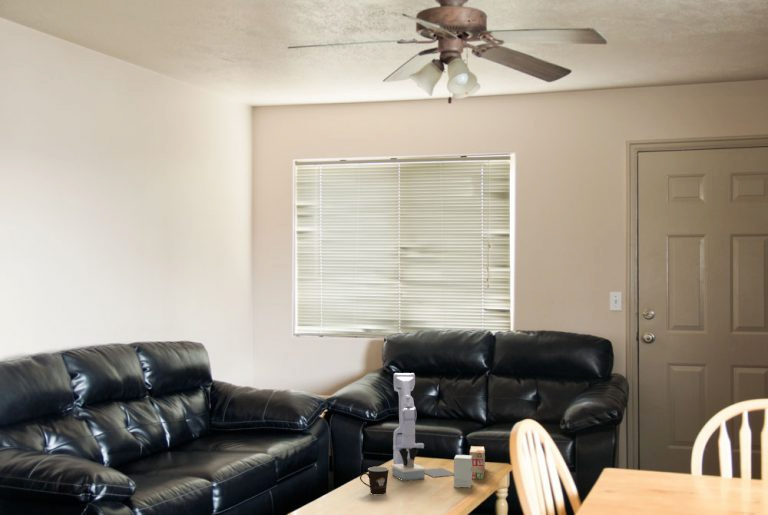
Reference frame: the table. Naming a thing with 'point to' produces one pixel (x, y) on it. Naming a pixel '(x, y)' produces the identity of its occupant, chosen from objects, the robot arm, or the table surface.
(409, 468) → the lid
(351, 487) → the table surface
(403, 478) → the box
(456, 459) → the supplement box
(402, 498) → the table surface
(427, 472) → the mat
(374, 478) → the coffee mug
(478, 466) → the stack of blocks
